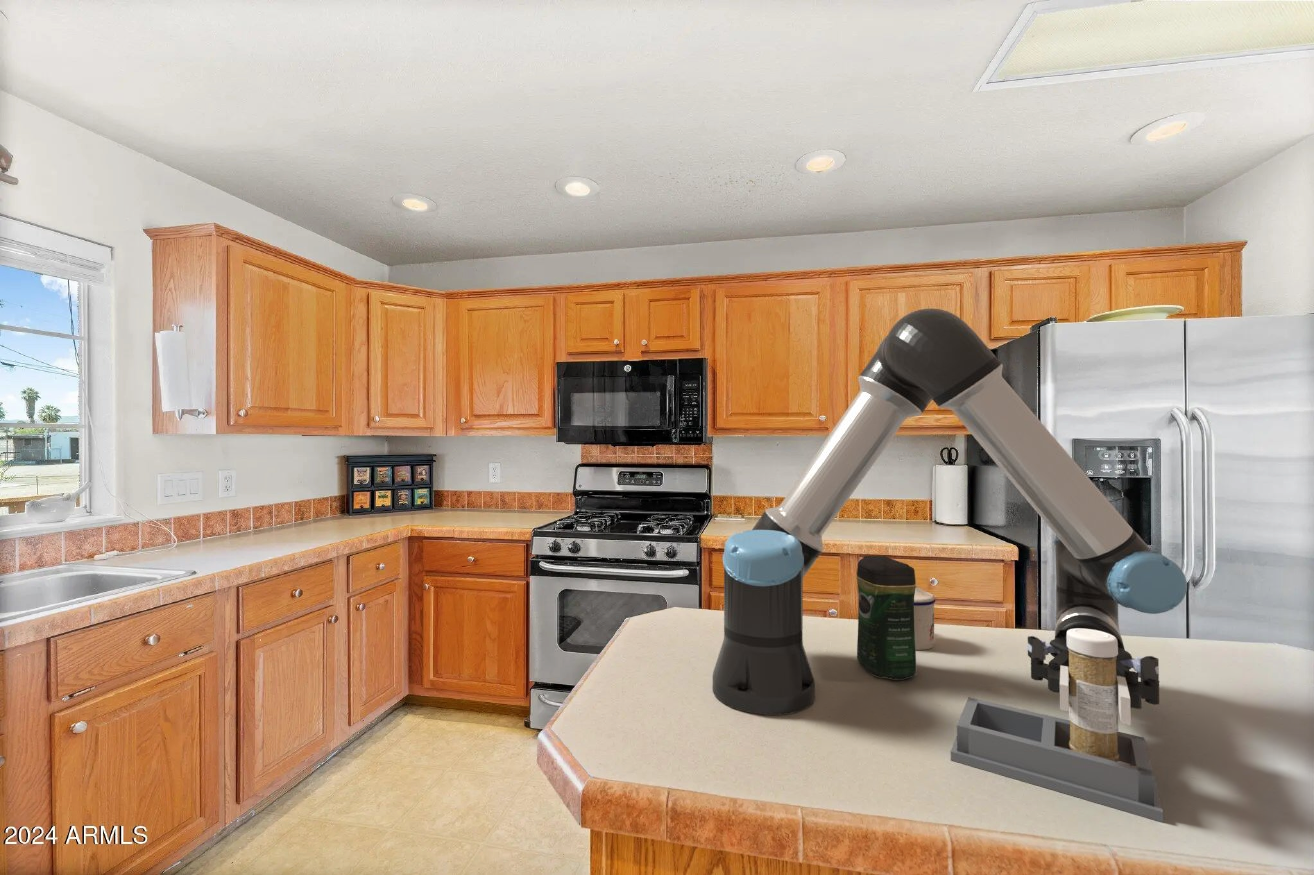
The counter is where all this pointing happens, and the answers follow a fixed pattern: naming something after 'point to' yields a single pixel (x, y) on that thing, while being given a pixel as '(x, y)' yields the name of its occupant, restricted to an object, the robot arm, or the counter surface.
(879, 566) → the coffee jar
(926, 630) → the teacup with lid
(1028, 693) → the counter surface
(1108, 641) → the sprinkles bottle
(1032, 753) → the bottle caddy
